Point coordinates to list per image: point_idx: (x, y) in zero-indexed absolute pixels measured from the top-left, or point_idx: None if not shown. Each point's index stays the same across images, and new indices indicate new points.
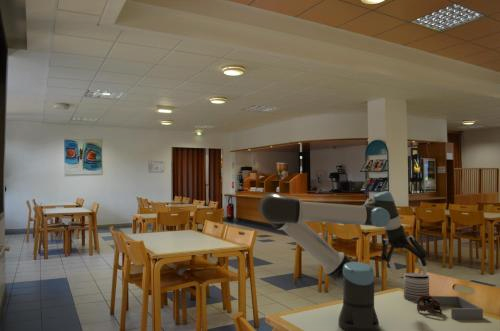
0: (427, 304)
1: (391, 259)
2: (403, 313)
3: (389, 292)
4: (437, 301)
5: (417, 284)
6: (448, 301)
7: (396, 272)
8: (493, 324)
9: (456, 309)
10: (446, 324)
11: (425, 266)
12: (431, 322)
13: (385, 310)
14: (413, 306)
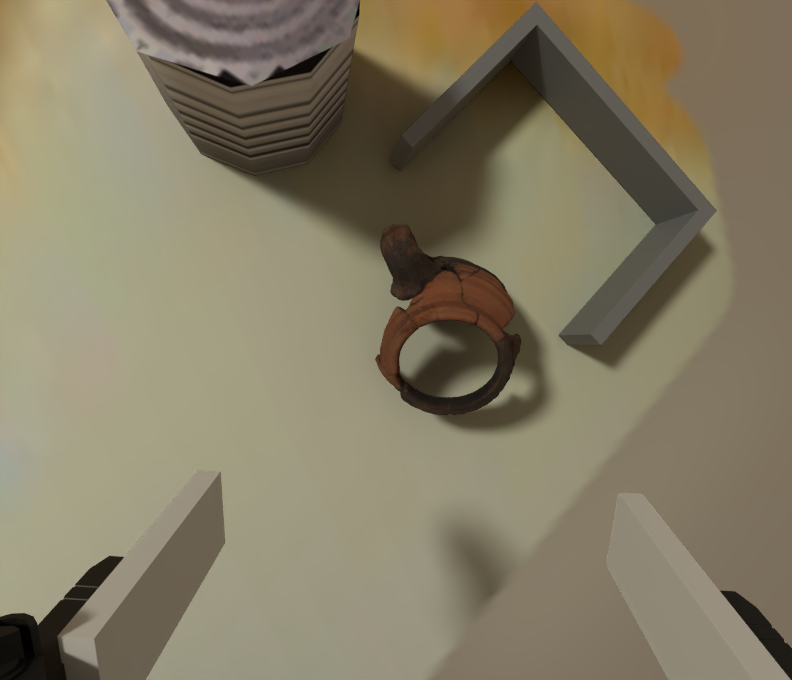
0: (475, 405)
1: (75, 645)
2: (330, 467)
3: (14, 50)
4: (512, 314)
5: (296, 105)
6: (479, 86)
7: (214, 493)
8: (725, 273)
9: (615, 327)
10: (572, 457)
11: (681, 547)
12: (508, 490)
13: None
14: (316, 278)
